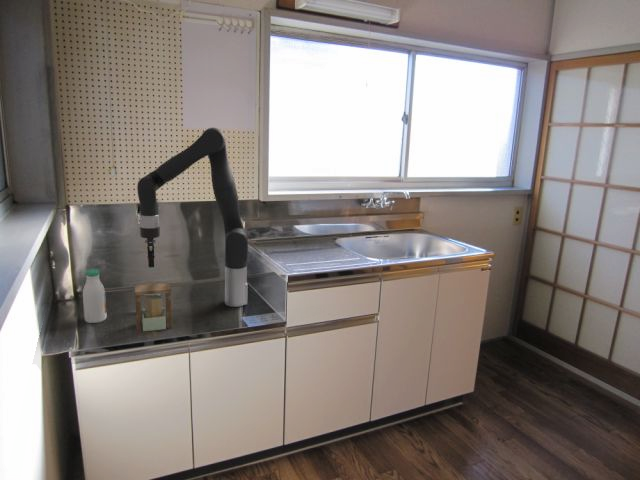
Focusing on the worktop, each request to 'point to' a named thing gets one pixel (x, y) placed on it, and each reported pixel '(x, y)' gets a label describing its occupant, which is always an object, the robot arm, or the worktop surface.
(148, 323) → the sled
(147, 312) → the skincare box
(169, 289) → the tunnel
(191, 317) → the worktop surface
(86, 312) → the milk bottle
